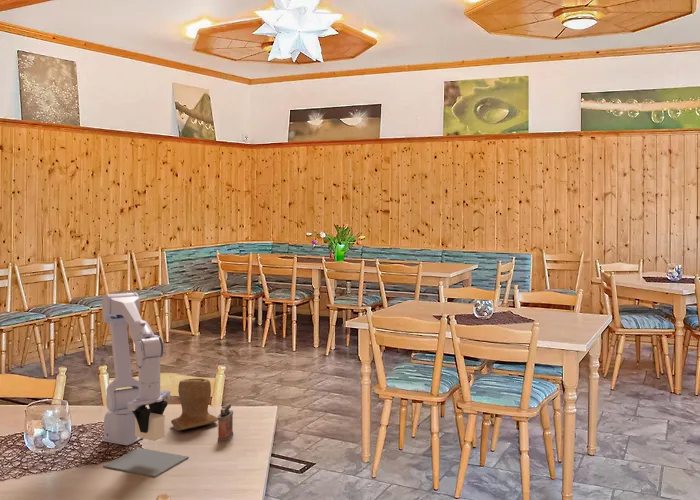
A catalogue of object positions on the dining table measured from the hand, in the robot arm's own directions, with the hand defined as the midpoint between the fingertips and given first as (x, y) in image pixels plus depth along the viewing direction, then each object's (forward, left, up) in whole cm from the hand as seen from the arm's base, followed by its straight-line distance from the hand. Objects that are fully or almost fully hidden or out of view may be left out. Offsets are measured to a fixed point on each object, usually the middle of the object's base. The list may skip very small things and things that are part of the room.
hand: (149, 429), depth 197 cm
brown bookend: (-7, +31, -9) cm, 33 cm away
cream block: (0, 0, -2) cm, 2 cm away
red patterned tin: (+9, +25, -9) cm, 28 cm away
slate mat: (0, -1, -9) cm, 9 cm away
